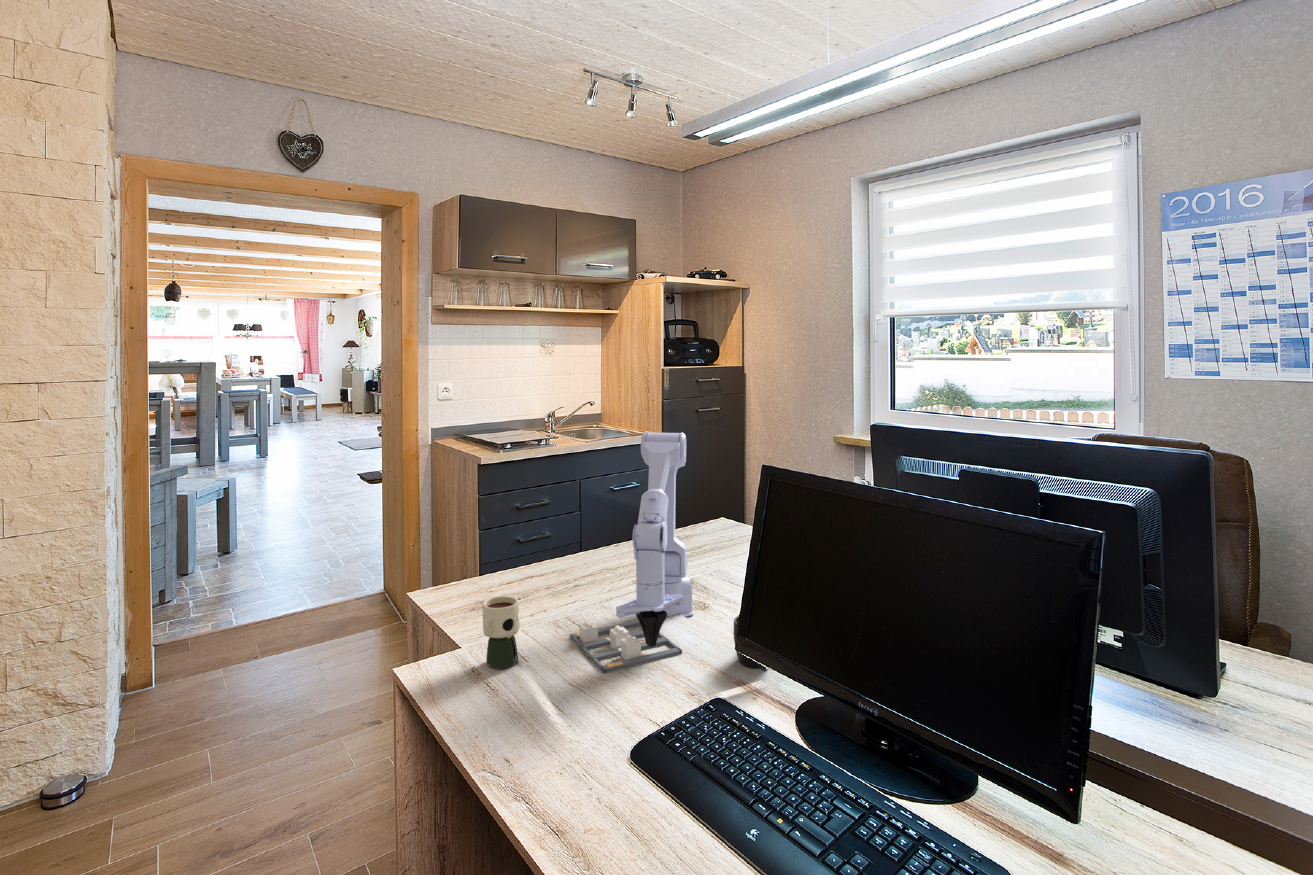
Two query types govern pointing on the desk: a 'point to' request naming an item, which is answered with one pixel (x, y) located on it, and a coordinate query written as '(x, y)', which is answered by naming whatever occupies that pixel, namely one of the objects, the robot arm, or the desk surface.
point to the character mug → (501, 630)
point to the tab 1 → (588, 632)
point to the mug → (743, 659)
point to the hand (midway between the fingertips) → (650, 644)
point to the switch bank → (617, 652)
